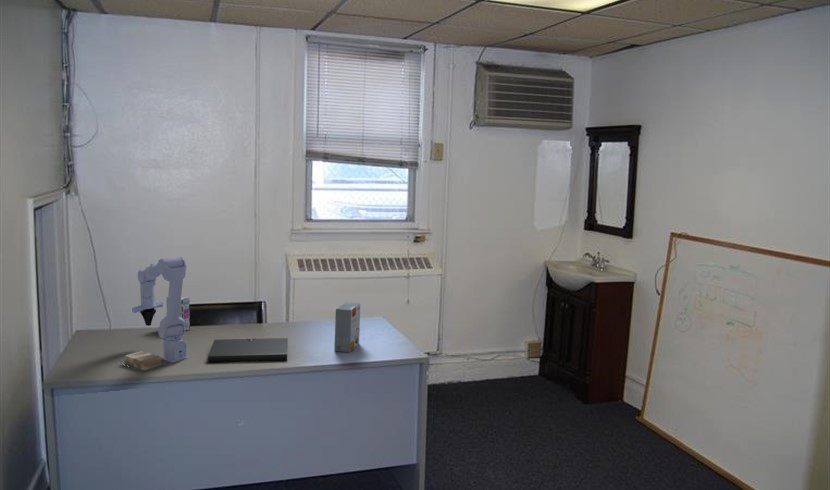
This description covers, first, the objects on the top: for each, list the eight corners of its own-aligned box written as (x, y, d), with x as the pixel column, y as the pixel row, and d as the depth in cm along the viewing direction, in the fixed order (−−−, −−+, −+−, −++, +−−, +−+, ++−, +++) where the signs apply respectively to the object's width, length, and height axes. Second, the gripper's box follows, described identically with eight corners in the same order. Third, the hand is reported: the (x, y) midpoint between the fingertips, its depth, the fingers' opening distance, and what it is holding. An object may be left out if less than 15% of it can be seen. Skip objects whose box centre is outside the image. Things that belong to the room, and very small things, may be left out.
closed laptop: (287, 337, 307) (287, 353, 283) (287, 345, 308) (287, 362, 284) (214, 338, 301) (207, 355, 277) (214, 347, 302) (207, 365, 278)
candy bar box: (190, 329, 326) (189, 297, 324) (182, 332, 322) (182, 299, 319) (174, 326, 331) (173, 294, 329) (166, 328, 327) (165, 296, 324)
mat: (169, 365, 273) (168, 364, 273) (143, 373, 263) (143, 372, 263) (139, 356, 284) (139, 355, 284) (113, 363, 274) (113, 362, 274)
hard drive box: (350, 353, 298) (350, 310, 295) (334, 351, 299) (334, 309, 296) (359, 343, 313) (360, 302, 310) (344, 342, 314) (345, 301, 311)
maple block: (142, 358, 280) (161, 365, 273) (125, 363, 273) (144, 370, 266) (142, 351, 279) (161, 357, 272) (125, 355, 272) (144, 361, 266)
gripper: (155, 291, 303) (156, 320, 305) (127, 297, 291) (128, 327, 293) (165, 294, 299) (166, 323, 301) (137, 299, 287) (138, 329, 289)
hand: (148, 325), depth 296 cm, fingers closed
